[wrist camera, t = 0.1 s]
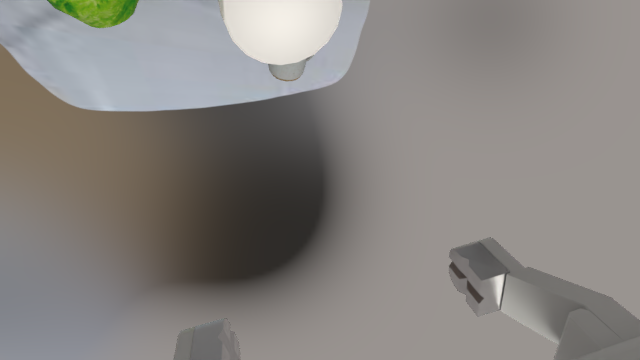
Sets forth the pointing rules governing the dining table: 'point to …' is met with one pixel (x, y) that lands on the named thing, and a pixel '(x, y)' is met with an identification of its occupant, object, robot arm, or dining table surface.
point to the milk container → (280, 27)
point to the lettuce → (97, 11)
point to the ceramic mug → (288, 70)
